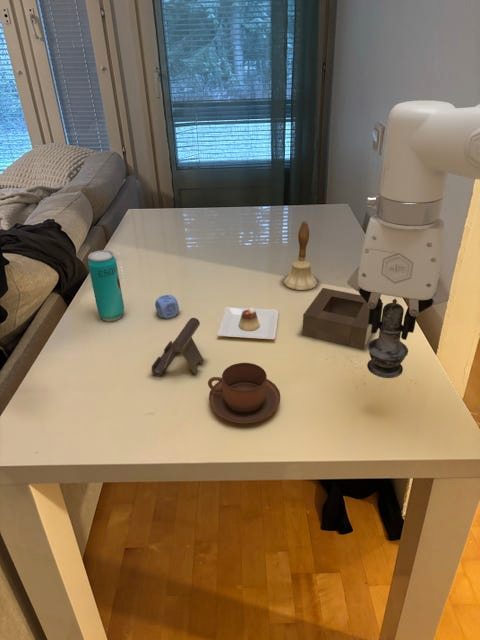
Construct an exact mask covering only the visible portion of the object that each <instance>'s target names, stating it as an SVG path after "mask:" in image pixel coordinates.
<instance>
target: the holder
mask: <svg viewBox="0 0 480 640" xmlns="http://www.w3.org/2000/svg"><path fill="white" fill-rule="evenodd" d="M369 312H370V308H369V307H368V303H367V302H366V301H365V300H364V298H363V297H362V296H361V295H360V294H357V293H351V292H346V291H342V290H336V289H331V288H325V287H322V288H321V289H320V291H319V292H318V293H317V294H316V296H315V298H314V299H313V301H312V302H311V303H310V305H309V306H308V308H306V310H305V311H304V312H303V315H302V330H301V336H305V337H308V338H313V339H317V340H322V341H325V342H329V343H334V344H338V345H343V346H346V347H351V348H355V349H359V350H365V349H366V347H367V346H368V343H369V340H370V339H371V336H372V334H373V333H371V328H372V325H370V324H368V320H369Z"/></svg>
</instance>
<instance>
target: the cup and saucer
mask: <svg viewBox="0 0 480 640" xmlns="http://www.w3.org/2000/svg"><path fill="white" fill-rule="evenodd" d="M267 377H268V376H267V372H266V371H265V369H264V368H263V367H262V366H260V365H258V364H256V363H252V362H238V363H234V364H231V365H229V366H227V367H226V368H225V369H224V370H223V372H222V374H221V377H220V376H212V377H210V378H209V379H208V381H207V384H208V387H209V389H210V391H209V395H208V402H209V405H210V407H211V410H212V411H213V412H214V413H215V414H216V415H217V416H219V417H220V418H222V419H224V420H226V421H228V422H233V423H237V424H252V423H256V422H260V421H262V420H266V419H267V418H269V417H270V416H271V415H273V414H274V413H275V412H276V411H277V409H278V408H279V406H280V403H281V392H280V390H279V388H278V387H277V385H276V384H275V383H274V382H272V381H271V380H270V379H268V378H267ZM215 381H216V383H215V384H214V385H213V382H215Z"/></svg>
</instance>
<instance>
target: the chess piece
mask: <svg viewBox="0 0 480 640" xmlns="http://www.w3.org/2000/svg"><path fill="white" fill-rule="evenodd" d="M391 301H392V302H389V303H386V304H385V305H383V307H382V315H381V322H380V323H379V325H378V330H379V331H378V336H377V338H374V339H372V340H370V341H368V342H367V345H366V347H367V351H368V355H369V357H370V359H369V360H368V362H367V364H366V366H367V367H366V368H367V370H368V372H370V374H372V375H373V376H377V377H379V378H383V379H395V378H397V377H399V376H401V375H402V374H403V372H404V368H403V366H402V363H403V361H404V360H405V359H406V357H407V356H408V354H409V348H408V347H407V345H406V344H404V342H402V341H401V335H402V329H403V321H404V315H405V314H404V313H405V310H404V307H403V305H401V304H399V303H398V300H397V299H396V298H394V299H392V300H391Z"/></svg>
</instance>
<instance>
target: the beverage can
mask: <svg viewBox="0 0 480 640" xmlns="http://www.w3.org/2000/svg"><path fill="white" fill-rule="evenodd" d="M87 258H88V261H87V265H88V271H89V275H90V280H91V284H92V289H93V294H94V299H95V304H96V310H97V314H98V315H99V316H100V318H101V320H103V321H104V322H105V321H106V322H115V321H118V320H120V319H121V318H122V317H123V316H124V312H125V306H124V304H125V303H124V297H123V292H122V287H121V282H120V276H119V275H120V274H119V270H118V264H117V258H116V257H115V256H114V252H113V251H111V250H108V249H107V250H106V249H105V250H103V249H101V250H96V251H93V252H90V253H89V255H88V257H87Z"/></svg>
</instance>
